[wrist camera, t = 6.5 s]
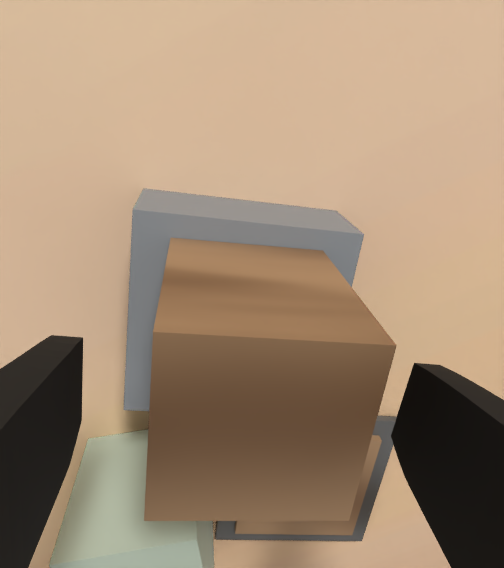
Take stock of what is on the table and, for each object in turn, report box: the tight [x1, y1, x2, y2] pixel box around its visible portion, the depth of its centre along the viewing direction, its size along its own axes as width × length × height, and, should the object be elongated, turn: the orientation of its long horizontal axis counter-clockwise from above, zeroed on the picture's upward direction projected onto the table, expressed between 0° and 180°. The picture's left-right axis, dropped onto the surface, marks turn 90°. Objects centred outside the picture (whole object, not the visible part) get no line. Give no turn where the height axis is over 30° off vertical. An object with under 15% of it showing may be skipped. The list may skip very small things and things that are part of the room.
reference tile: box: [215, 416, 397, 541], centre depth 19 cm, size 6×6×1 cm
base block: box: [124, 189, 364, 411], centre depth 14 cm, size 6×6×3 cm
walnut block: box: [144, 238, 396, 521], centre depth 11 cm, size 4×4×5 cm
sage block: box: [49, 429, 214, 568], centre depth 16 cm, size 4×4×5 cm
